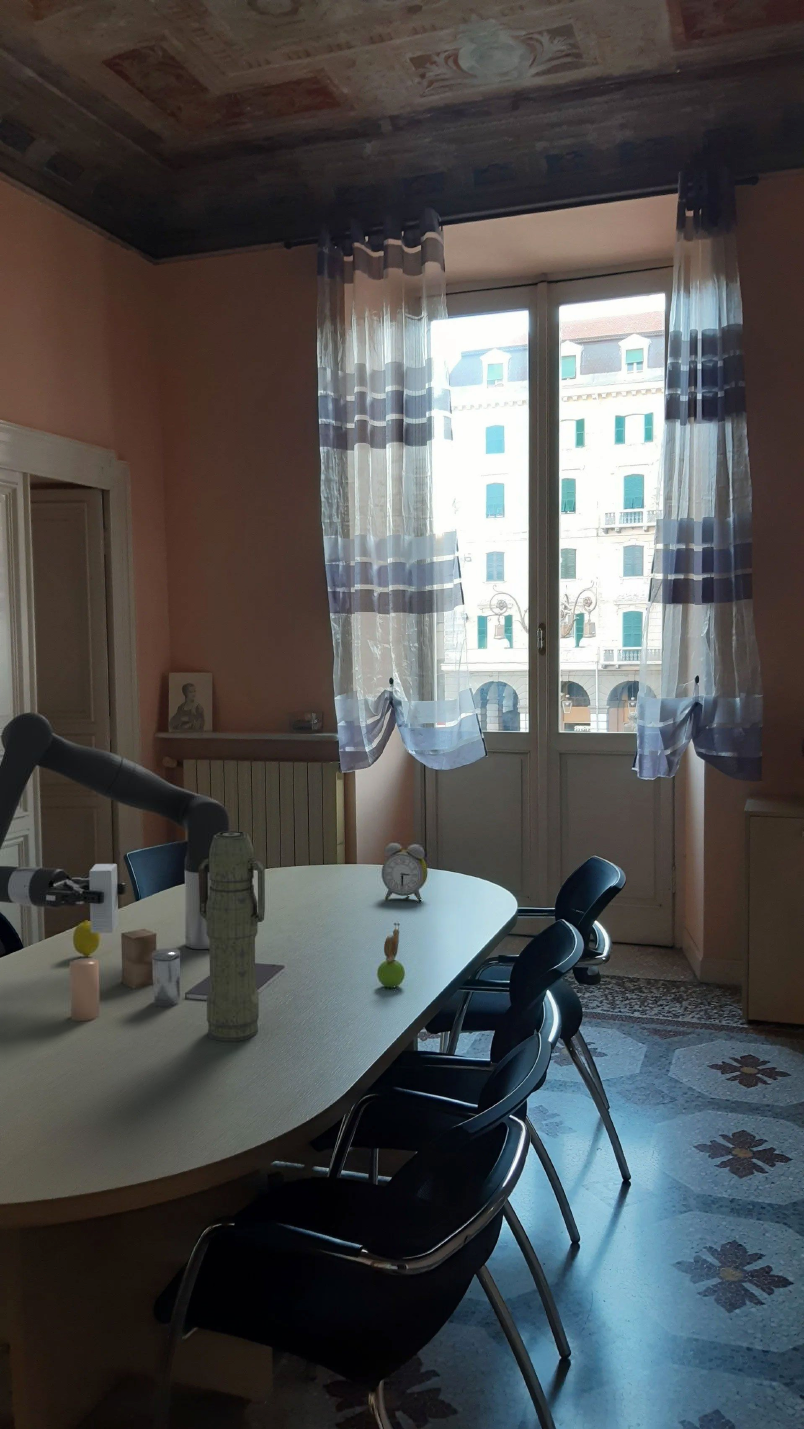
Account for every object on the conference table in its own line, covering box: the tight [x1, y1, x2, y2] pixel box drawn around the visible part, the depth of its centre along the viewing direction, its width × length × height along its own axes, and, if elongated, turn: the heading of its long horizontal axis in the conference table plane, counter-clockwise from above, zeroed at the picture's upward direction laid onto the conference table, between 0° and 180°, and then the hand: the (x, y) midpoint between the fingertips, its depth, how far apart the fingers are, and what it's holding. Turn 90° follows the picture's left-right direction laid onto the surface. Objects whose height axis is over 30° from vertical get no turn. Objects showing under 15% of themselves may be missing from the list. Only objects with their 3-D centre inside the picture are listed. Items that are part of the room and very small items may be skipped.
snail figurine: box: [376, 922, 406, 988], centre depth 209 cm, size 5×6×12 cm
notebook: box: [184, 962, 285, 1001], centre depth 211 cm, size 13×2×21 cm
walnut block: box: [120, 928, 157, 989], centre depth 211 cm, size 5×5×10 cm
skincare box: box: [88, 863, 119, 934], centre depth 201 cm, size 6×4×12 cm
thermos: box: [198, 830, 266, 1043], centre depth 183 cm, size 9×12×35 cm
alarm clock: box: [381, 842, 428, 901], centre depth 281 cm, size 12×7×15 cm, turn 73°
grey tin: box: [152, 948, 181, 1008], centre depth 199 cm, size 5×5×10 cm
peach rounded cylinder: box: [69, 957, 100, 1022], centre depth 192 cm, size 5×5×10 cm
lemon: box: [72, 920, 101, 958], centre depth 229 cm, size 6×6×8 cm
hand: (113, 893), depth 201 cm, fingers closed on skincare box, 7 cm apart
